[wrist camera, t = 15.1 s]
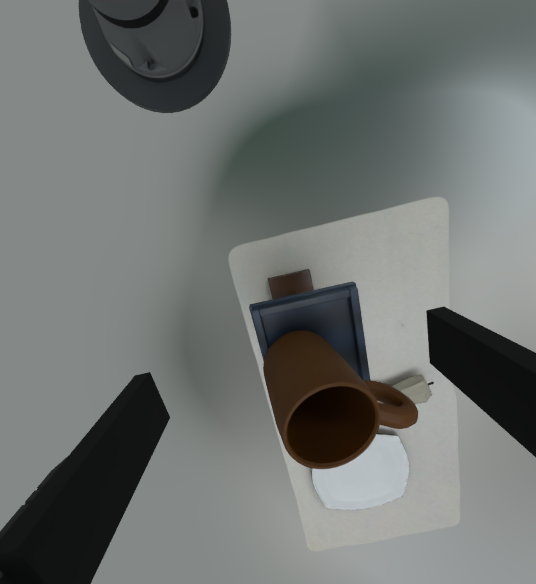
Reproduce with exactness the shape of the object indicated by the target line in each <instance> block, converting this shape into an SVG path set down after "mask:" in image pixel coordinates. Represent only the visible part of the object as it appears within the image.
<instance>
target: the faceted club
mask: <svg viewBox="0 0 536 584" xmlns="http://www.w3.org/2000/svg"><path fill="white" fill-rule="evenodd" d="M431 384H434V383H433V382H431V383H428V384H427V382H426V379H425V378H424V377H423V376H422V375H417V376H412V377H410V378H407V379H405V380H403V381H401V382H399V383H397V384H395V385H392V387H394V388H396V389H397V390H399V391H401V392H402V393H404V394H405V395H406V396H408V397H409V398H410V399H411V400H412V401H413V402H414V404H417V403H426V402H427V400H428V398H429V397H430V396H431V395H432V393H431V391H430V388H429V386H428V385H431ZM377 402H379V401H377ZM380 403H382V402H380Z"/></svg>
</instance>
